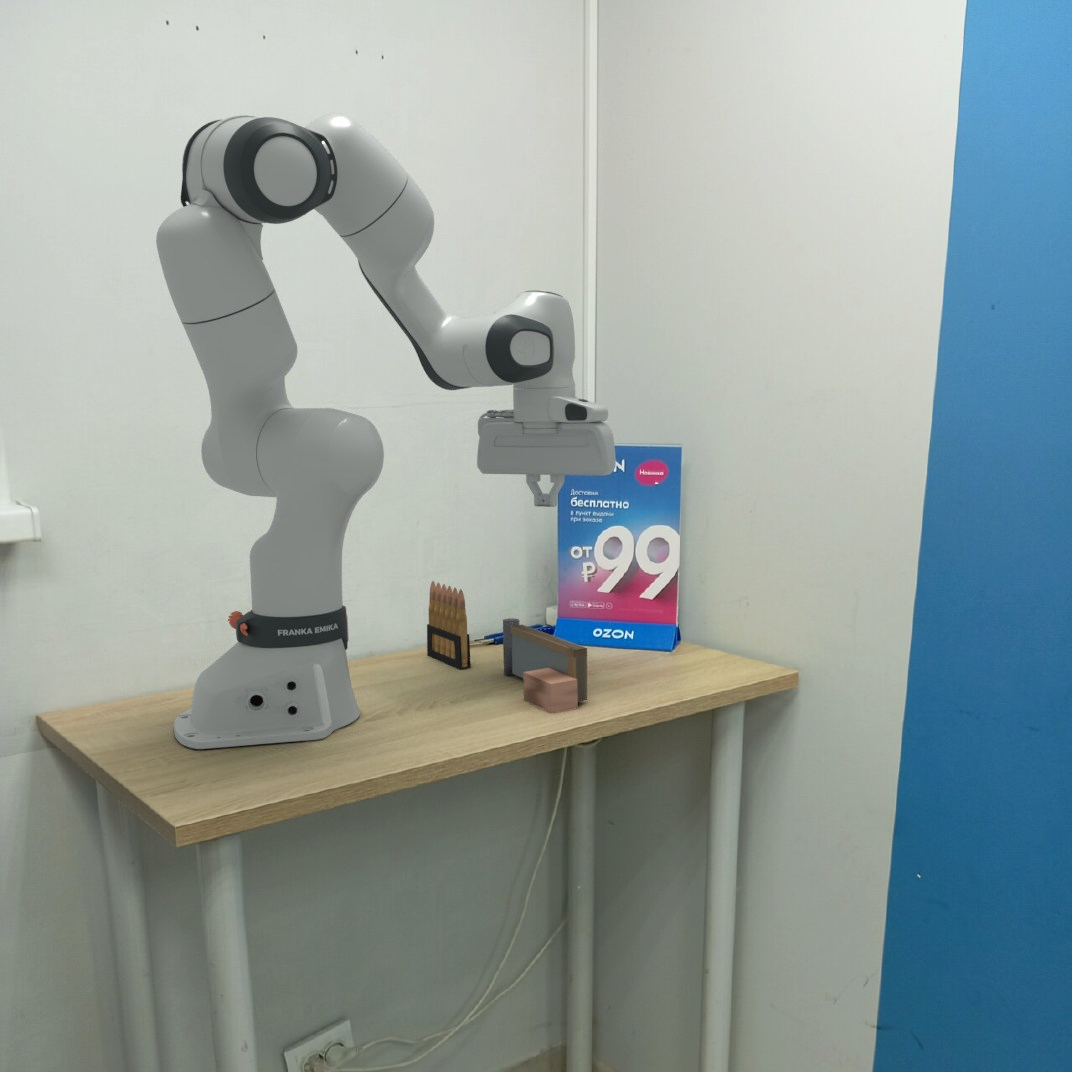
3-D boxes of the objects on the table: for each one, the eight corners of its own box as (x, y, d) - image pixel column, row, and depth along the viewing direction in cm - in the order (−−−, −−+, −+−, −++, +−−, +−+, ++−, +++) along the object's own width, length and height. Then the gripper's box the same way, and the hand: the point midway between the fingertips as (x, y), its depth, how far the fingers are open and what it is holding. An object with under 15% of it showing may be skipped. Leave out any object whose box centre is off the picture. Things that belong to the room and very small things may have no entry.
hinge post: (507, 676, 148) (506, 622, 147) (501, 672, 150) (500, 619, 149) (522, 674, 149) (521, 620, 148) (516, 670, 151) (515, 617, 150)
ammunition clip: (471, 668, 153) (469, 589, 152) (460, 670, 152) (458, 590, 151) (437, 653, 162) (435, 579, 160) (426, 655, 161) (424, 580, 159)
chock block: (523, 701, 137) (523, 672, 136) (549, 696, 139) (549, 667, 138) (551, 714, 131) (551, 684, 130) (577, 709, 133) (577, 679, 132)
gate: (510, 673, 148) (510, 626, 147) (522, 671, 149) (522, 624, 148) (574, 702, 133) (574, 650, 132) (587, 700, 134) (587, 648, 133)
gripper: (468, 410, 146) (470, 506, 148) (605, 409, 138) (605, 510, 140) (486, 409, 152) (488, 502, 154) (619, 408, 144) (619, 505, 146)
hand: (545, 506), depth 147 cm, fingers closed
